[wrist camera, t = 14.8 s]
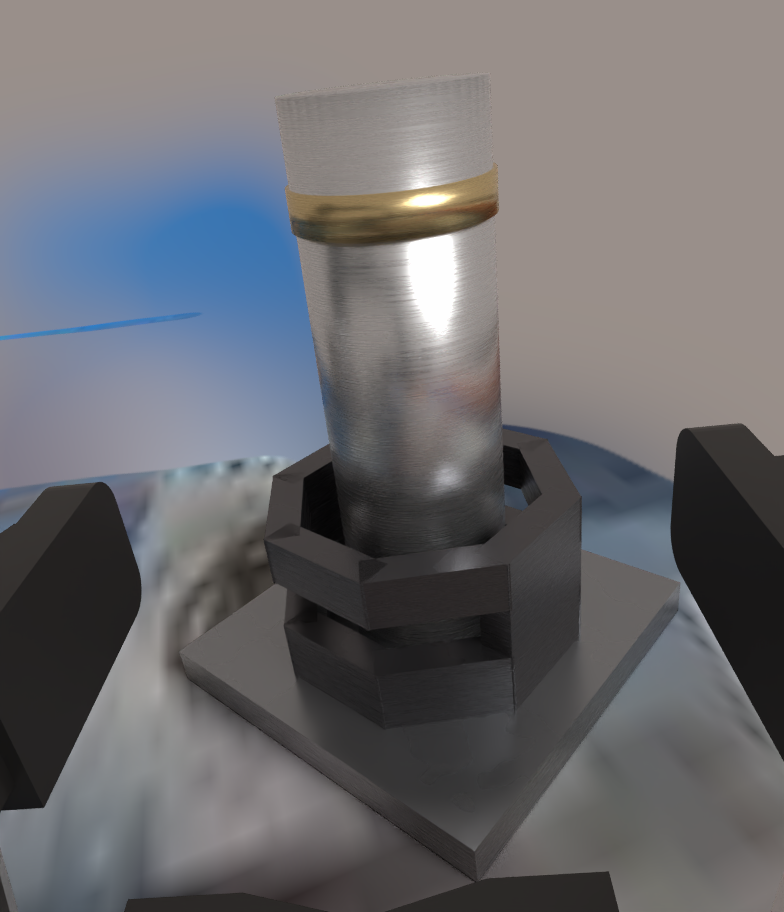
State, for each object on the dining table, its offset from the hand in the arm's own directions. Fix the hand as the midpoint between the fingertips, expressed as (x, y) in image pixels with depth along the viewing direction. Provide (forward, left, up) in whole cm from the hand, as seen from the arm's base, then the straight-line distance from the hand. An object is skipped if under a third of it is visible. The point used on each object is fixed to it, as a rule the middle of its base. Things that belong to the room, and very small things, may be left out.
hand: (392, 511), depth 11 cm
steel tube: (-7, +8, -11) cm, 15 cm away
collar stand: (-7, +8, -12) cm, 16 cm away
